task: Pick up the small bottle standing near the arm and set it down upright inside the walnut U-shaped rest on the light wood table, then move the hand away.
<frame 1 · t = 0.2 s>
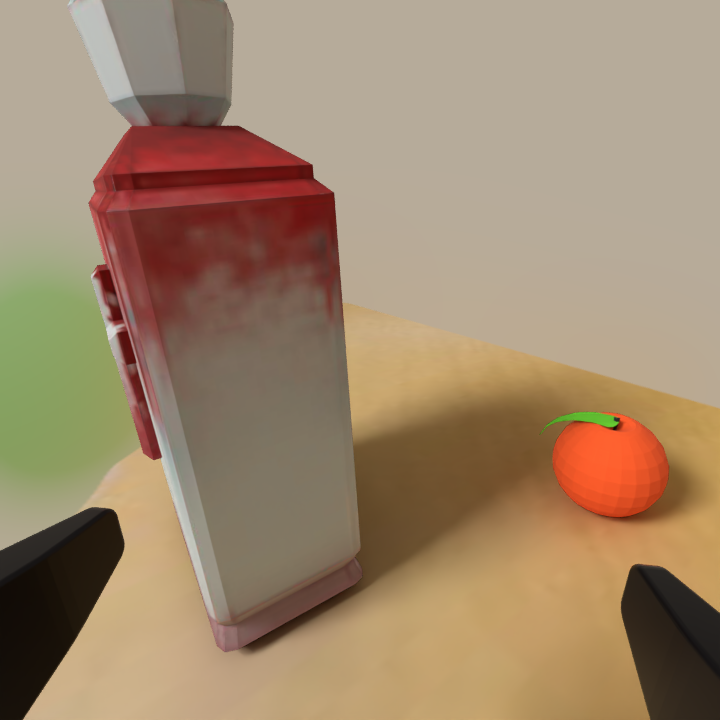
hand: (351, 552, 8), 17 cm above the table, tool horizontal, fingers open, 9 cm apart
clementine: (590, 503, 32), on the table
bottle: (259, 544, 30), on the table
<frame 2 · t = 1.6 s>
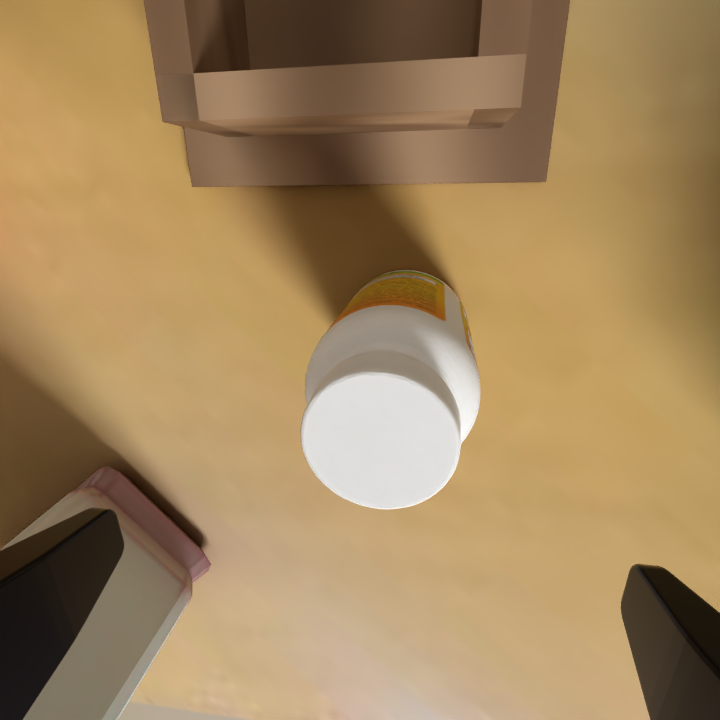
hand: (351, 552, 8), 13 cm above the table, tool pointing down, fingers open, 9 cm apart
supplement bottle: (406, 327, 20), on the table
bottle: (107, 551, 29), on the table
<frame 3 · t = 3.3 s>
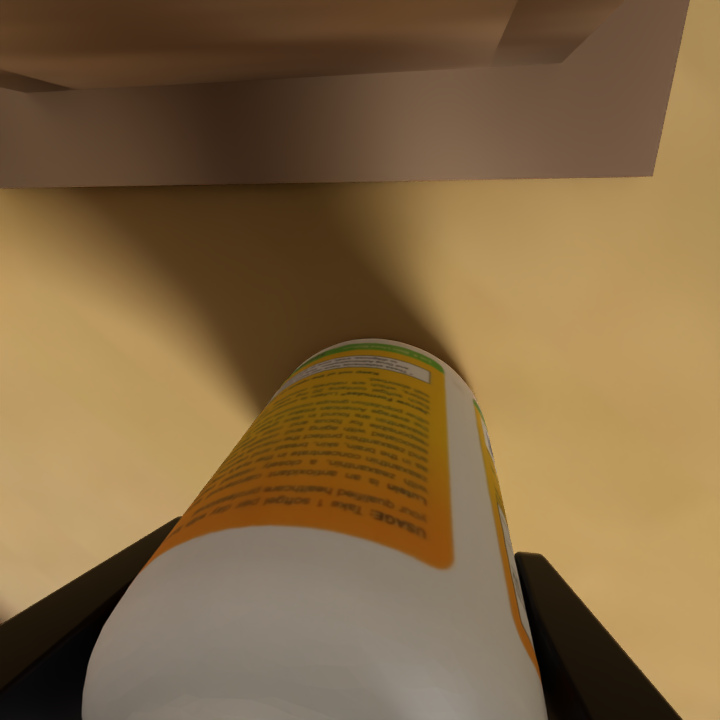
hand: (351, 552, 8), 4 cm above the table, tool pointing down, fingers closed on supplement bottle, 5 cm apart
supplement bottle: (378, 428, 12), on the table, touching gripper
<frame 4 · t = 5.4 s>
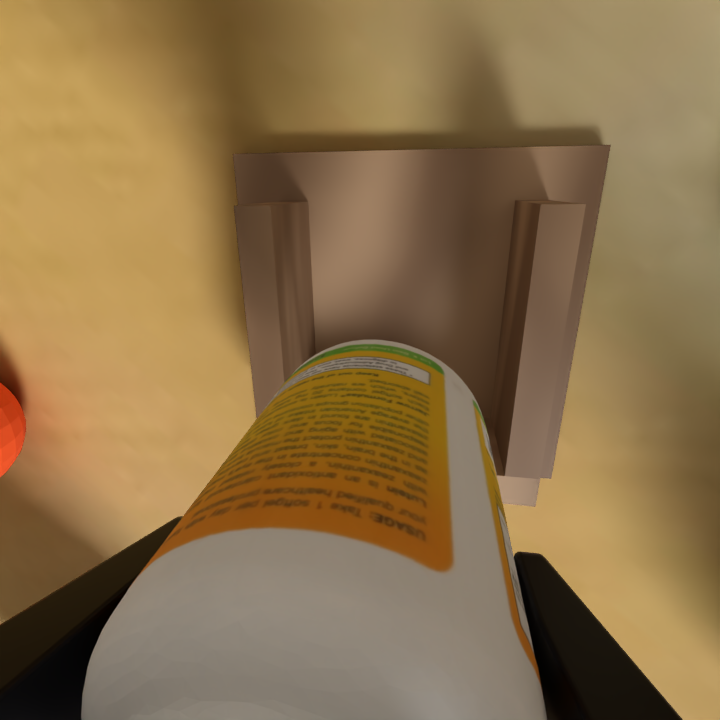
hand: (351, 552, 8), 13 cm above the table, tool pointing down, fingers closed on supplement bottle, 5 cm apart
u rest: (405, 324, 19), on the table
clementine: (4, 408, 25), on the table
supplement bottle: (378, 429, 12), point 9 cm above the table, touching gripper
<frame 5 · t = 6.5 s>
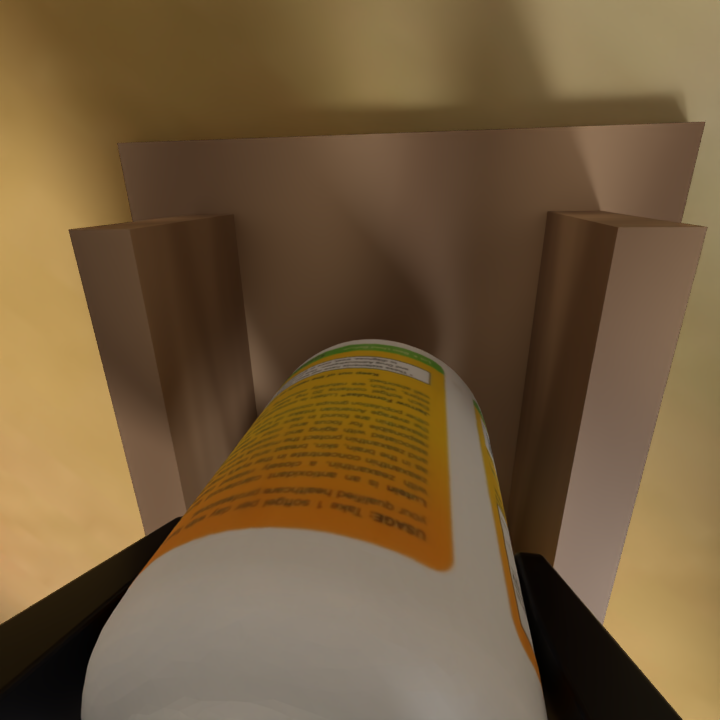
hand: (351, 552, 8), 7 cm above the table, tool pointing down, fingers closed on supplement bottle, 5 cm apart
u rest: (384, 387, 14), on the table
supplement bottle: (378, 429, 12), point 2 cm above the table, touching gripper
when the fingers open (6 cm above the table, at t = 7.5 s): supplement bottle drops 1 cm, resting on u rest.
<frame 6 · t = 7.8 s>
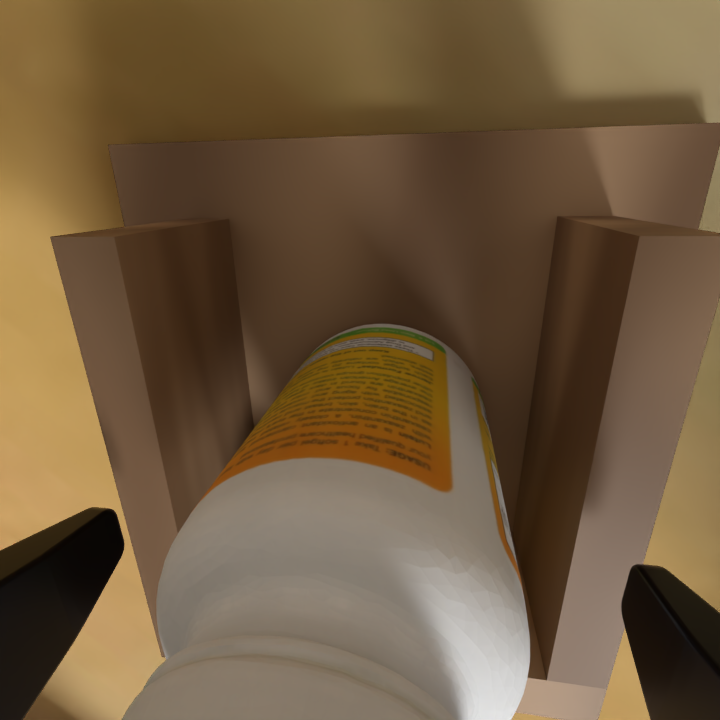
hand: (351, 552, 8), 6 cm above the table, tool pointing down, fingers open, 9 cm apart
u rest: (385, 398, 13), on the table
supplement bottle: (386, 406, 13), resting on u rest
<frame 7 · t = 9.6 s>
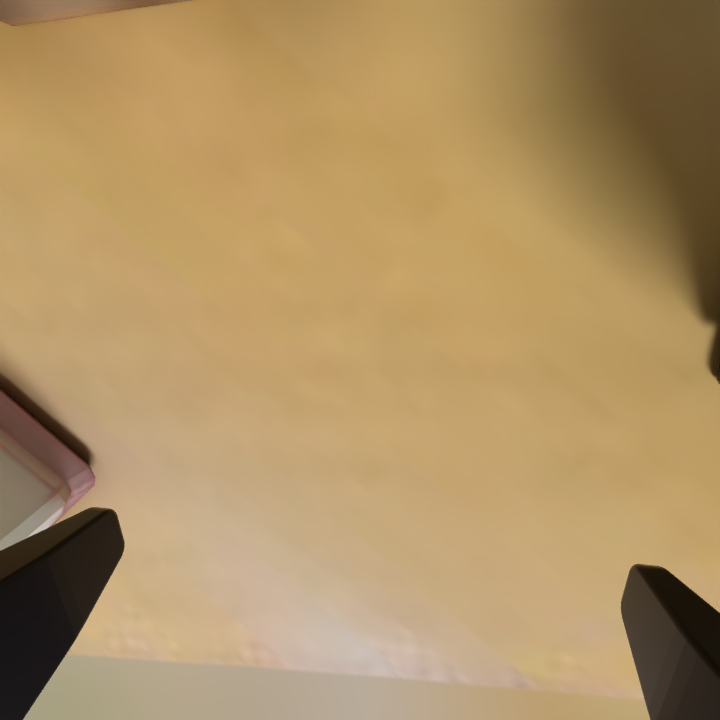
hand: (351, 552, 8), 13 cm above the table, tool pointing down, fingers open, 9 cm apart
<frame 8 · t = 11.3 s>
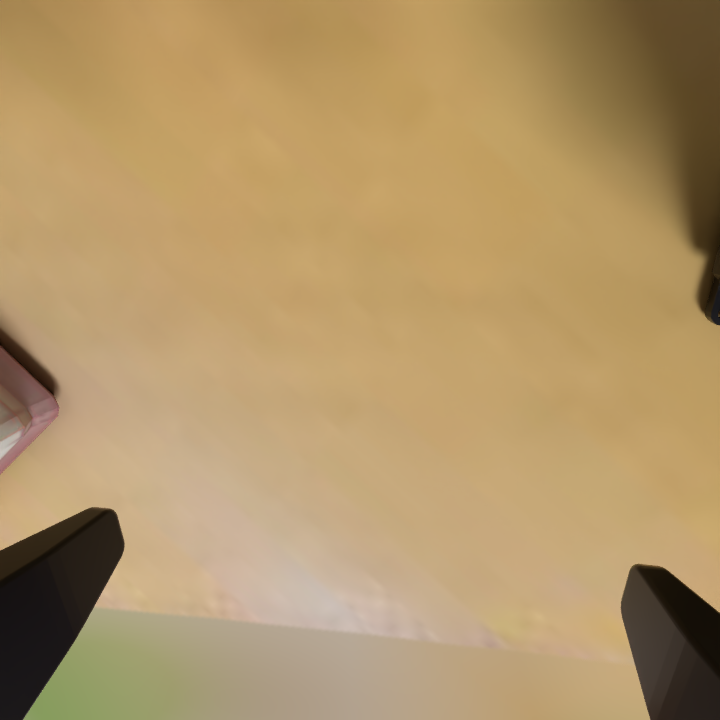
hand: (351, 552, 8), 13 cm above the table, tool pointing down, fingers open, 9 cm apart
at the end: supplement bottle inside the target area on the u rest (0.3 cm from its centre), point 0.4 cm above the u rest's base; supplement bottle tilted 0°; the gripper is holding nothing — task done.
